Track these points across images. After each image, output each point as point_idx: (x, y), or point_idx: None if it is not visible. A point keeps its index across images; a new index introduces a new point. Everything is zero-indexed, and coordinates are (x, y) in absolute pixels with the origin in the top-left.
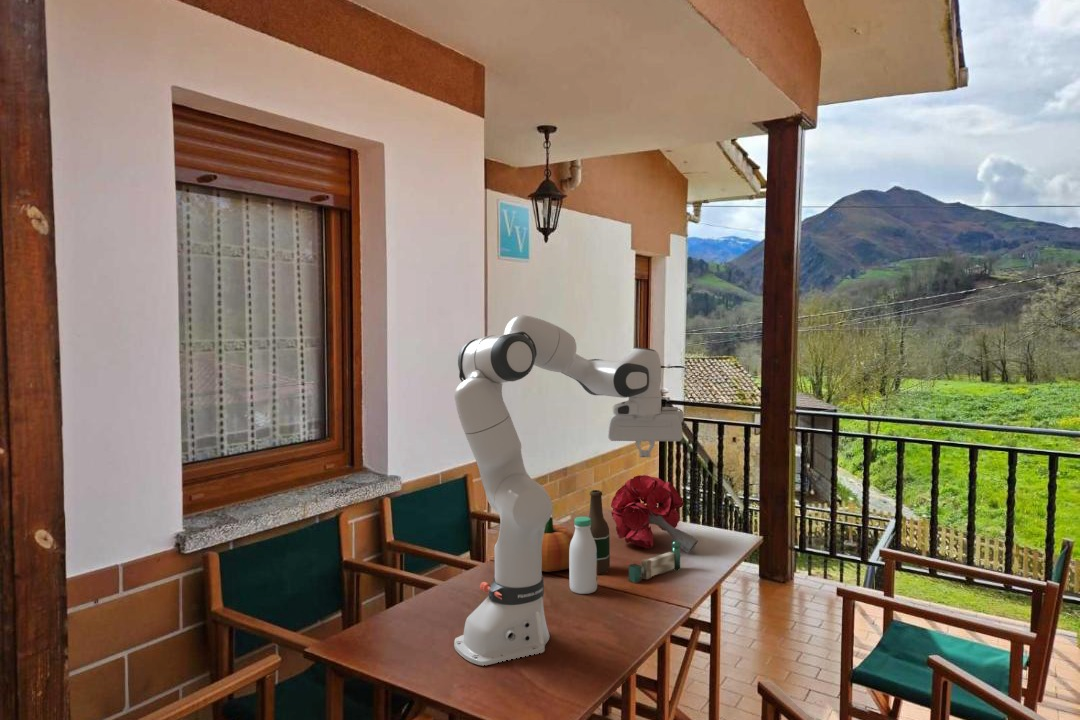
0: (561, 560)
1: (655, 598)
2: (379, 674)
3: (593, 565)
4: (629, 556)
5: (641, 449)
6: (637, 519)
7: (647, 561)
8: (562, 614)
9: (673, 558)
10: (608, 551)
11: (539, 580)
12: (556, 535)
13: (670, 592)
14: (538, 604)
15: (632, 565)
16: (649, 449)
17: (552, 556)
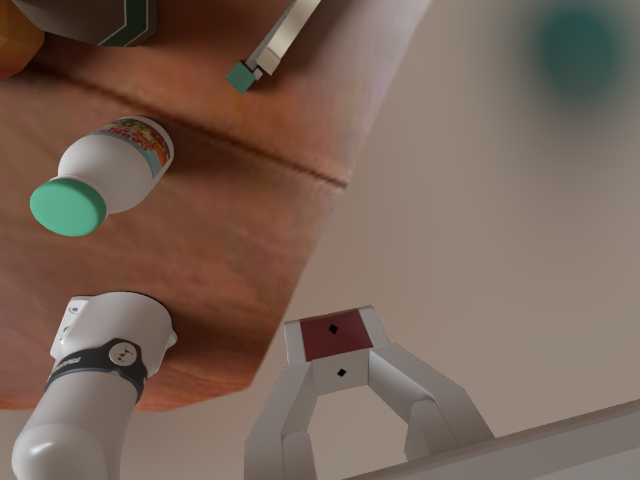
0: (20, 68)
1: (292, 161)
2: (26, 408)
3: (158, 180)
4: None
5: (311, 400)
6: None
7: (272, 72)
8: (153, 251)
9: None
10: (142, 3)
11: (136, 396)
12: None
13: (319, 128)
14: (149, 371)
15: (234, 78)
16: (384, 398)
17: None
